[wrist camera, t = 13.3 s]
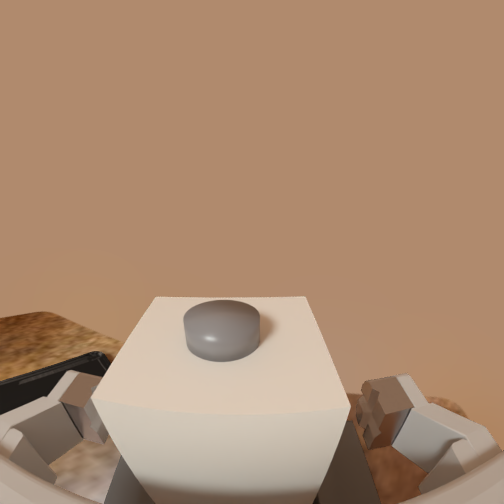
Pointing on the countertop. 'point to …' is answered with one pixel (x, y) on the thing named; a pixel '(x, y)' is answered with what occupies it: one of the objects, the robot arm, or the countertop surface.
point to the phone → (47, 380)
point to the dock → (327, 499)
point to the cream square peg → (225, 401)
